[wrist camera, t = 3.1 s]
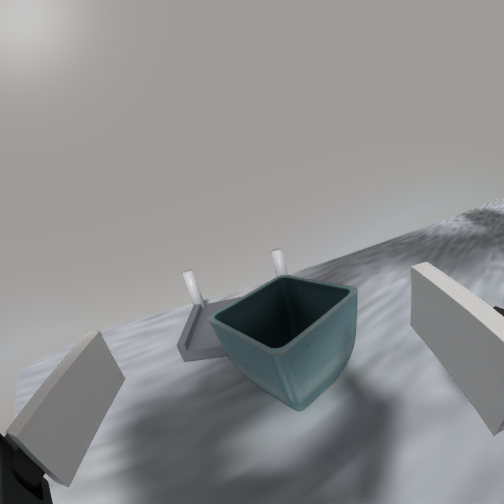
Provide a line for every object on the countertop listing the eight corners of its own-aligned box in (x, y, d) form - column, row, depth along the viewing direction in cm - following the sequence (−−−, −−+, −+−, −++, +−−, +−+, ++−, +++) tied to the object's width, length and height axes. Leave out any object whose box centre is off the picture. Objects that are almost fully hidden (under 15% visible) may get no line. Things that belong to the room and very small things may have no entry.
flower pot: (234, 392, 25) (204, 316, 22) (298, 346, 30) (281, 272, 27) (299, 438, 18) (276, 355, 15) (365, 372, 23) (360, 287, 20)
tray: (292, 294, 42) (281, 247, 40) (303, 340, 30) (290, 281, 28) (199, 314, 43) (183, 270, 41) (182, 362, 32) (158, 309, 30)
